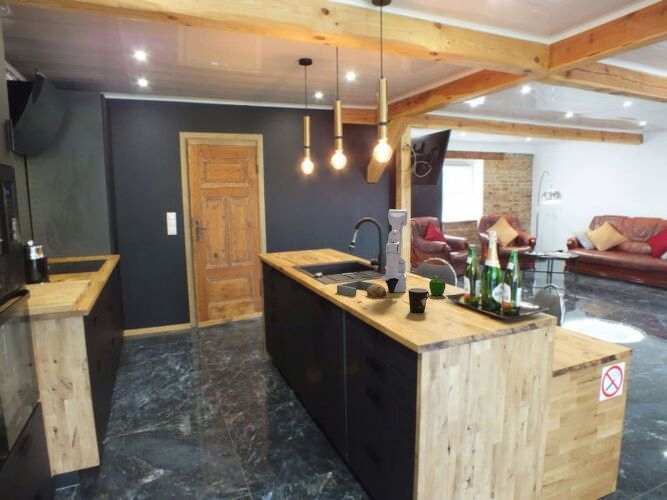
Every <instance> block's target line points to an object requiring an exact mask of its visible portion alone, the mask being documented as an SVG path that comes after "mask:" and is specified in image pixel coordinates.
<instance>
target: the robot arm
mask: <svg viewBox="0 0 667 500" xmlns="http://www.w3.org/2000/svg"><path fill="white" fill-rule="evenodd" d="M388 223H389V225H390V226H391V231H389V233H388V239H387V243H386V246H385V254H386V255H385V257H386V271H385V274H384V275H382V276H381V279H380V280H381V281H382V282H385V283H386V286H387V292H388V293H389V294H394V293H406V291H407V286H408V285H407V274H405V273H406V270H407V269H406V267H407V265H406V260H405V258H403V256H402V238H403V237H402V236H403V235H402V234H403V229H404V227H405V226H407V224H408V210H407V209H391V208H390V209H389V210H388Z"/></svg>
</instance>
